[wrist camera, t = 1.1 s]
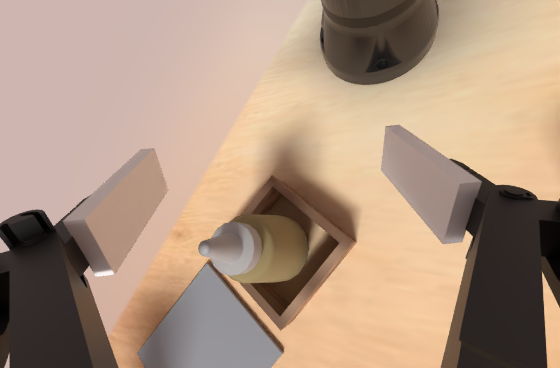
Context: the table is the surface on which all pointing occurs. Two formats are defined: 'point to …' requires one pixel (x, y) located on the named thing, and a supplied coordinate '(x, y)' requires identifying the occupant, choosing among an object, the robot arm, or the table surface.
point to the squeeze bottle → (258, 248)
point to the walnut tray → (285, 313)
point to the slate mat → (209, 331)
